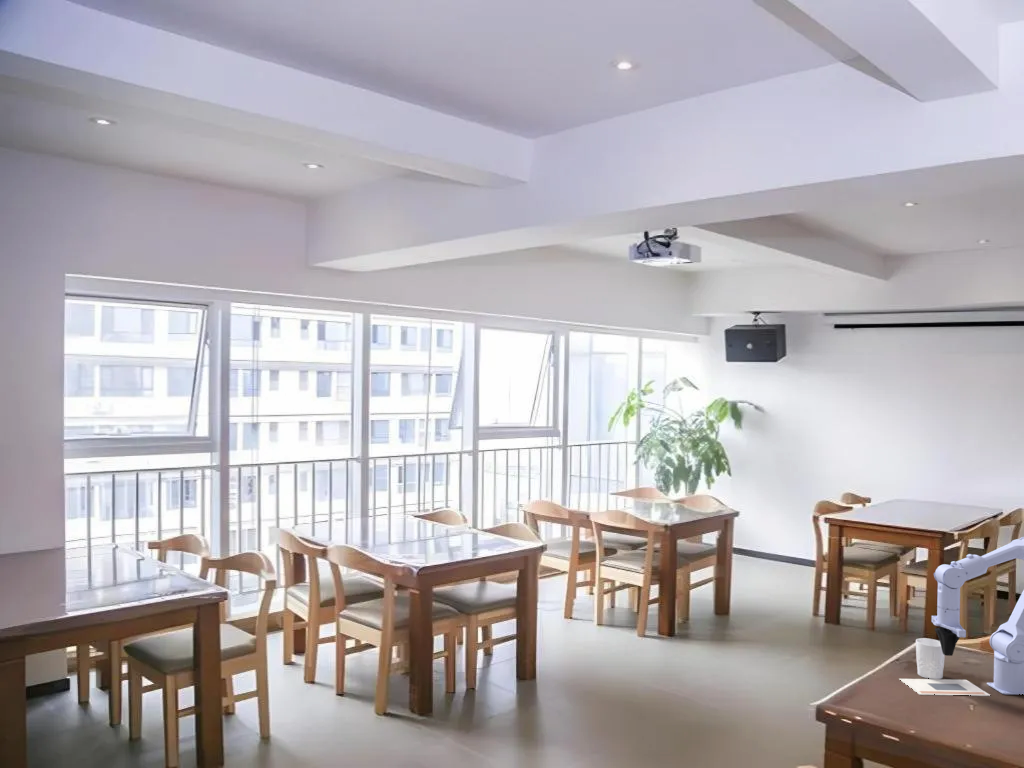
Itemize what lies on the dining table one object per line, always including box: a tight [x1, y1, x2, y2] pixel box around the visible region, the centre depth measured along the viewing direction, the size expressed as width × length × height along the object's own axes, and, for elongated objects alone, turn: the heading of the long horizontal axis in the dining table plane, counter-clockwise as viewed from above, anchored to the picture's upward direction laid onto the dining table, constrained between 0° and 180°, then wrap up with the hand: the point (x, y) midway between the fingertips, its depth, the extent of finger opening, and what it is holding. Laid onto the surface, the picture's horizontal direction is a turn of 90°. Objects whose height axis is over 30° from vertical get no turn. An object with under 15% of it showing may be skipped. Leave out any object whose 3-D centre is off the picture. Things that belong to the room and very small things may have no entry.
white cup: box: [915, 637, 946, 679], centre depth 241 cm, size 8×8×10 cm
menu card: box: [898, 678, 991, 697], centre depth 231 cm, size 20×12×1 cm, turn 90°
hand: (947, 654), depth 231 cm, fingers closed
